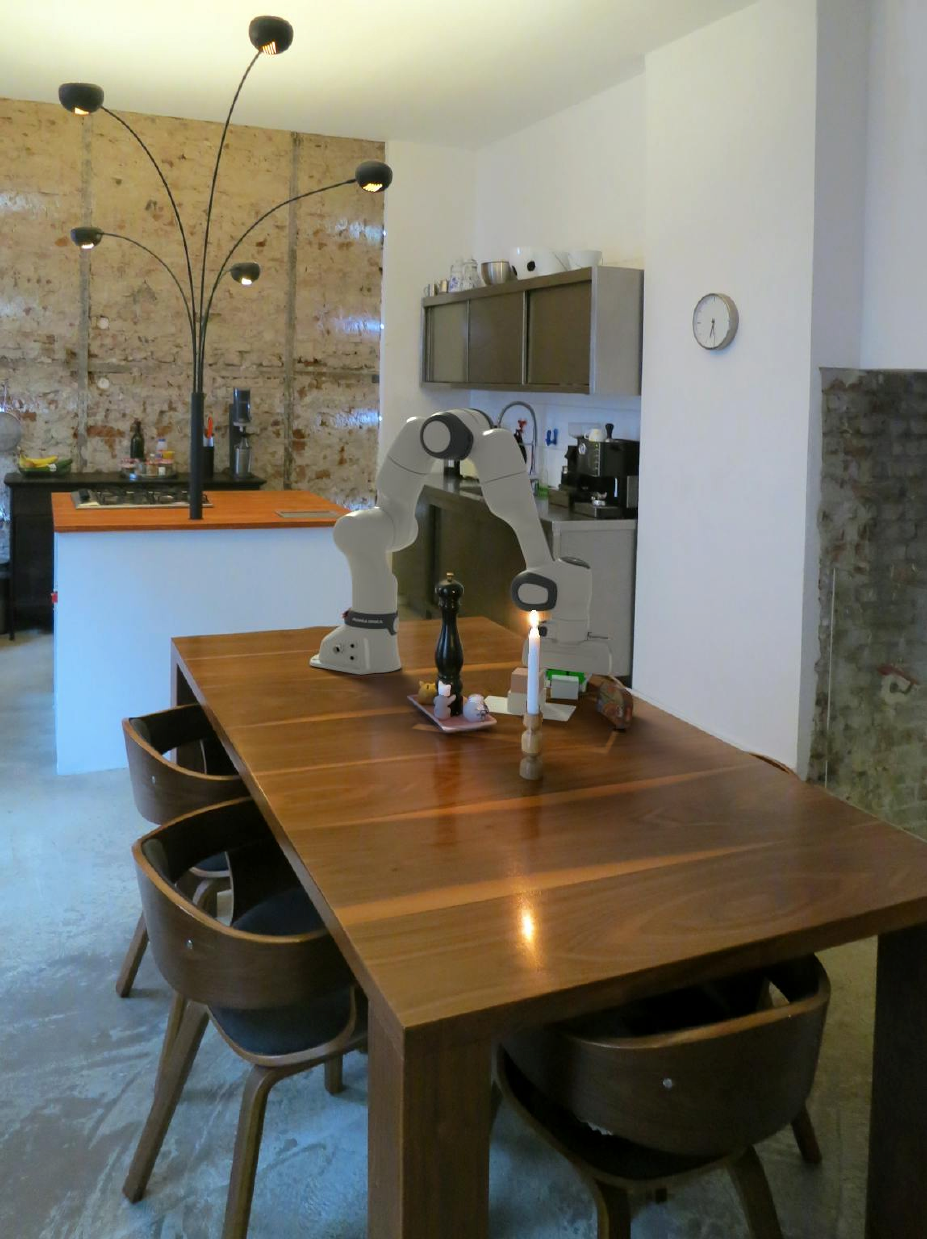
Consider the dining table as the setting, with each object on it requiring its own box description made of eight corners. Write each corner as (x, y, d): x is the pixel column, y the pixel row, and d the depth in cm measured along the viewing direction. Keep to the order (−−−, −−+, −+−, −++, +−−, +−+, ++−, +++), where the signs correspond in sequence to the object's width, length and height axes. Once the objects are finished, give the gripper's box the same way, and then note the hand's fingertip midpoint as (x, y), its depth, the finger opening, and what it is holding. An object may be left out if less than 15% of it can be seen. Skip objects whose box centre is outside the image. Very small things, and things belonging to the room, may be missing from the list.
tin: (594, 713, 239) (596, 676, 237) (607, 713, 240) (610, 676, 238) (619, 734, 224) (622, 695, 223) (633, 734, 225) (636, 694, 224)
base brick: (506, 710, 234) (507, 692, 233) (514, 701, 241) (515, 684, 240) (538, 714, 232) (540, 696, 232) (545, 705, 239) (546, 688, 238)
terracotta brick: (510, 691, 234) (511, 673, 233) (516, 685, 239) (517, 667, 239) (537, 695, 232) (539, 676, 232) (543, 688, 238) (544, 670, 237)
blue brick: (550, 698, 246) (552, 681, 245) (550, 691, 252) (552, 674, 251) (577, 700, 246) (578, 683, 245) (576, 693, 251) (578, 676, 251)
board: (474, 714, 234) (474, 709, 234) (488, 699, 245) (488, 695, 245) (566, 725, 229) (566, 721, 228) (576, 710, 240) (576, 706, 240)
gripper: (617, 632, 246) (611, 691, 249) (528, 622, 251) (524, 680, 254) (613, 637, 240) (607, 698, 243) (522, 627, 245) (518, 686, 248)
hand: (564, 688), depth 248 cm, fingers closed on blue brick, 6 cm apart
